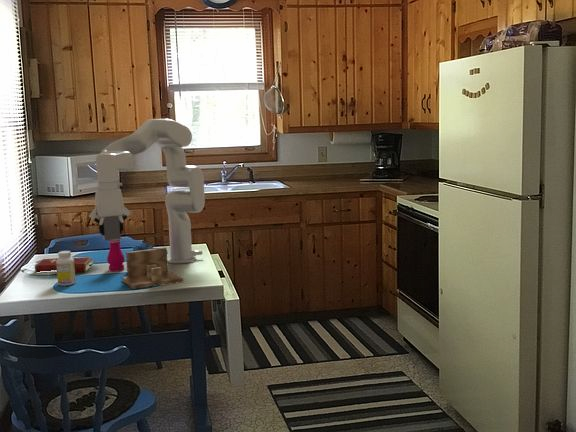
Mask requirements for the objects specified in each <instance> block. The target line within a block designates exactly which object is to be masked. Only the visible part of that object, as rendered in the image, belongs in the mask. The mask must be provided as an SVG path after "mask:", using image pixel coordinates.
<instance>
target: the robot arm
mask: <svg viewBox="0 0 576 432" xmlns="http://www.w3.org/2000/svg"><path fill="white" fill-rule="evenodd" d="M192 140H193V134H192V131H191V129H190V128H189V127H188V126H185V124H184V125H183V124H182V123H180V122H178V121H177V120H173V119H170V118H150V119H148V120H146V121H145V122H143V123H142V124H141V125H140V126H139V127H138V128H137V129H136V130H135V131H133V133H132V134H130V135H127V136H124V137H122V138H120V139H118V140H115V141H113V142H111V143H110V144H108V145H107V146H106V147H104V148H103V149H102V151H101V152H100V153H98V154H97V155H96V156H95V163H96V164H95V165H96V178H97V190H95V196H94V209H92V211H91V212H90V213H89V215H88V217H89V218H91V220H93V221H94V223H96V224H98V230H99V234H100V235H101V236H102V237H103V236H104V235H105V233H104V225H103V220H104V217H114V216H118V217H119V221H120V233H122V234H123V232H124V222H125V221H126V220H127V219H128V218H129V216H130V215H131V213H132V211H131V210H129V208H127V207H125V204H124V198H123V193H122V190H121V188H120V187H123V182H121V181H119V172H127V171H130V170H132V169H134V166H135V165H136V157H135V155H140V154H143V153H145V152H147V151H148V149H150V148H151V146H153V145H154V144H156V145H157V146H159V147H160V149H161V150H162V151H163V154H164V156H165V163H166V164H165V165H166V167H165V168H166V179H167V183H168V185H169V186H171V187H172V188H173V187H174V188H184V189H185V188H186V189H187V188H188V190H186V189H185V190H183V189H174V190H171V191H169V192H167V194H166V195H165V198H164V201H165V203H164V204H165V208H166V212H167V217H168V233H169V234H168V235H169V253H170V257H167V263H169V264H173V265H174V264H175V265H177V264H178V265H181V264H188V263H189V264H190V263H193V262H196V258H197V257H196V256H202V255H203V250H194V249H193V248H192V227H191V226H192V225H191V224H192V223H191V219H190V217H189V214H188V213H200V212H202V211H203V210H204V208H205V203H206V201H205V199H206V197H205V196H206V195H205V179H204V173H203V171H202V169H201V168H200V167H199V166H197V165H187V157H186V152H185V149H184V148H185V147H188V146H189V145H190V144H191V143H192ZM95 215H96V216H97V217H98V218H97V217H96V216H95Z"/></svg>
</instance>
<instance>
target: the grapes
mask: <svg viewBox="0 0 576 432" xmlns="http://www.w3.org/2000/svg"><path fill="white" fill-rule="evenodd" d="M148 249H154V247H153V246H152V245H148V244H147V243H146V242H143V243H141V244H140V245H139V244H135V245H134V246H133V248H132V250H130V252H132V251H140V250H148Z"/></svg>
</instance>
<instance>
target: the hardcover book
mask: <svg viewBox="0 0 576 432" xmlns="http://www.w3.org/2000/svg"><path fill="white" fill-rule="evenodd" d="M72 258H73V259H74V267H75V273H81V272H84V273H85V272H87V270H88V269H89V268H90V267H91V266H89V263H91V264H92V259H93V257H92V256H91V257H72ZM57 259H59V257H58V258H43V259H41V260H40V261H38V262H37V263H36V264H34V273H35V272H40V271H51V270H57V265H56V261H57Z"/></svg>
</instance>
